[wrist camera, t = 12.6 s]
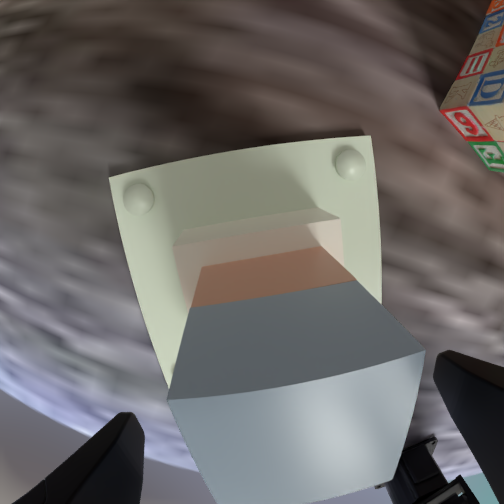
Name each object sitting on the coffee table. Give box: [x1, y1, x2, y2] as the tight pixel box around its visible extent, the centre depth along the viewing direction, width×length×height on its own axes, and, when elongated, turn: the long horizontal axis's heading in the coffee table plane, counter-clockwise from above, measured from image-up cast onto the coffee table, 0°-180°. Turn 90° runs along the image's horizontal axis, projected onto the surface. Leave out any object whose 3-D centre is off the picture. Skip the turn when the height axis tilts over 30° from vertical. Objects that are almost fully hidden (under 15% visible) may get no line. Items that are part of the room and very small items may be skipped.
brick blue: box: [167, 280, 426, 504], centre depth 8 cm, size 5×5×4 cm
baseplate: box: [109, 136, 382, 388], centre depth 17 cm, size 14×14×1 cm
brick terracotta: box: [191, 246, 357, 308], centre depth 12 cm, size 5×5×4 cm
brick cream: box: [172, 207, 344, 313], centre depth 15 cm, size 7×7×4 cm
